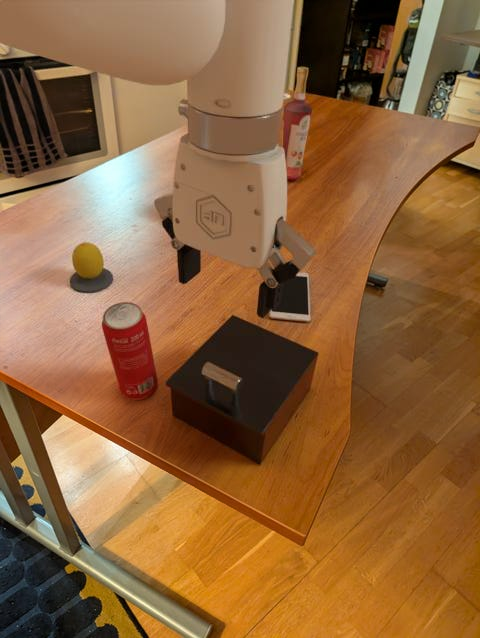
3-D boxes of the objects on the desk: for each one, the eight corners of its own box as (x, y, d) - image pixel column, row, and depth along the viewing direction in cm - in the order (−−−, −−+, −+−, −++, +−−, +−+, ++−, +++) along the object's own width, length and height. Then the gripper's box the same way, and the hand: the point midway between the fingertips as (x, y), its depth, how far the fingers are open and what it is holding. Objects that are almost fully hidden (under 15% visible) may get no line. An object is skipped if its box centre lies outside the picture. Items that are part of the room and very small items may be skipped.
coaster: (91, 298, 85) (91, 296, 85) (61, 283, 88) (60, 281, 88) (121, 277, 90) (121, 275, 90) (91, 264, 93) (91, 262, 93)
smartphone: (308, 272, 94) (310, 320, 82) (308, 275, 94) (310, 323, 83) (272, 269, 94) (269, 316, 83) (271, 271, 94) (268, 319, 83)
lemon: (71, 284, 87) (63, 248, 82) (83, 268, 91) (76, 233, 86) (99, 289, 86) (92, 252, 81) (110, 272, 91) (105, 237, 85)
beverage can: (164, 380, 71) (158, 305, 61) (140, 410, 66) (129, 334, 57) (132, 367, 73) (121, 291, 63) (107, 395, 68) (90, 319, 58)
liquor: (288, 185, 126) (303, 73, 108) (271, 176, 131) (281, 66, 112) (307, 179, 130) (324, 69, 112) (289, 170, 134) (303, 63, 116)
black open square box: (260, 465, 61) (265, 432, 56) (172, 415, 66) (169, 381, 61) (310, 389, 71) (317, 356, 66) (230, 351, 76) (232, 318, 72)
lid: (261, 437, 55) (265, 411, 52) (165, 385, 61) (163, 358, 57) (317, 356, 66) (323, 330, 63) (232, 318, 72) (233, 292, 68)
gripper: (121, 115, 38) (140, 282, 49) (310, 168, 32) (283, 346, 43) (177, 96, 43) (182, 251, 54) (350, 138, 37) (316, 304, 48)
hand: (227, 293), depth 49 cm, fingers open, 9 cm apart
